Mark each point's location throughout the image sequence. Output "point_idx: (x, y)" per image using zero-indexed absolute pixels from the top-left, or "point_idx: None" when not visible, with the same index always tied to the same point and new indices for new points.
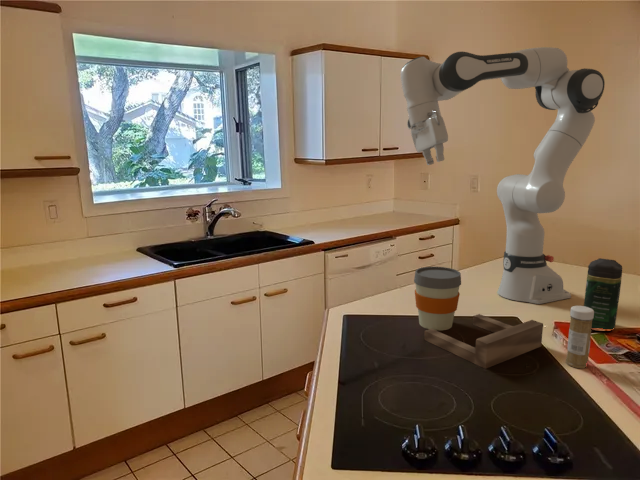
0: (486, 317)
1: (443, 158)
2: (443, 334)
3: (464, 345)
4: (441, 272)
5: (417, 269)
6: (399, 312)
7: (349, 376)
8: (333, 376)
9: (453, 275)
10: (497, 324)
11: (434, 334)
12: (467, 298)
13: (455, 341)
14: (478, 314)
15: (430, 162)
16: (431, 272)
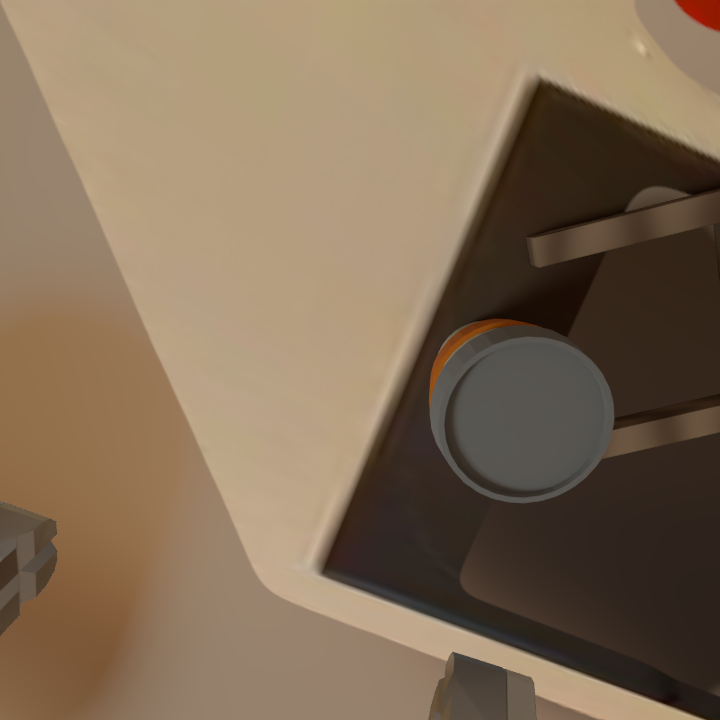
0: (568, 235)
1: (531, 700)
2: (619, 432)
3: (701, 421)
4: (503, 389)
5: (457, 471)
6: (357, 420)
7: (653, 678)
8: (638, 704)
9: (558, 369)
10: (630, 241)
11: (608, 454)
12: (313, 122)
13: (670, 428)
14: (536, 242)
15: (34, 567)
16: (486, 423)
